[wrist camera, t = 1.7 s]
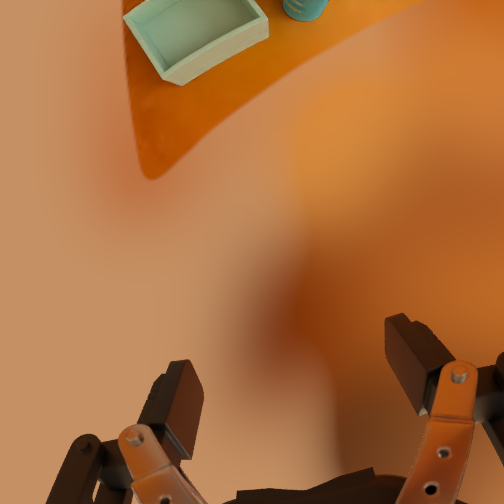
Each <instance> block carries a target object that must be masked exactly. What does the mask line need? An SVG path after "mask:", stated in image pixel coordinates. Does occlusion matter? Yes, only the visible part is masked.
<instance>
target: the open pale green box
mask: <svg viewBox="0 0 504 504" xmlns="http://www.w3.org/2000/svg"><path fill="white" fill-rule="evenodd" d="M122 18H123V19H124V21H125V22H126V24H127V25H128V27H129V29H130V30H131V32H132V33H133V35H134V36H135V38H136V39H137V41H138V42H139V44H140V45H141V47H142V49H143V50H144V52H145V53H146V55H147V56H148V58H149V59H150V61H151V63H152V64H153V66H154V67H155V69H156V70H157V72H158V74H159V75H160V77H161V78H162V79H163V80H166V81H169V82H172V83H174V84H177V85H180V86H183V85H185V84H187V83H188V82H190V81H191V80H193V79H194V78H196V77H197V76H199V75H201V74H202V73H204V72H206V71H207V70H209V69H211V68H212V67H214V66H216V65H217V64H219V63H221V62H223V61H224V60H226V59H228V58H230V57H232V56H233V55H235V54H237V53H239V52H241V51H243V50H245V49H247V48H249V47H251V46H253V45H255V44H257V43H259V42H261V41H263V40H265V39H267V38H269V28H268V18H267V16H266V15H265V14H264V12H263V11H262V10H261V8H260V7H259V6H258V5H257V3H256V2H255V1H254V0H145V1H144V2H142V3H141V4H139V5H138V6H136V7H135V8H134V9H132V10H131V11H130V12H128V13H127V14H126V15H124V16H123V17H122Z"/></svg>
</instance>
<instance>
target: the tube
mask: <svg viewBox="0 0 504 504" xmlns="http://www.w3.org/2000/svg"><path fill="white" fill-rule="evenodd" d="M328 1H329V0H283V8H284V11H285V12H286V13H287V14H288V15H289V16H290V17H291V18H293V19H295V20H298V21H306V22H307V21H312V20H315V19H317V18H318V17H319V16H320V15H321V13H322V12H323V10H324V8H325V6H326V5H327V3H328Z"/></svg>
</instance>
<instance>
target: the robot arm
mask: <svg viewBox="0 0 504 504" xmlns="http://www.w3.org/2000/svg"><path fill="white" fill-rule="evenodd" d="M385 354H386V358H387V361H388V363H389V365H390V366H391V368H392V370H393V371H394V373H395V375H396V377H397V379H398V380H399V382H400V384H401V386H402V387H403V389H404V391H405V393H406V395H407V397H408V398H409V400H410V402H411V404H412V406H413V408H414V410H415V411H416V413H417V415H418V416H421V415H423V414H425V413H428V415H429V419H428V422H427V426H426V429H425V432H424V435H423V438H422V440H421V443H420V446H419V449H418V452H417V454H416V457H415V459H414V462H413V465H412V467H411V469H410V472H409V474H408V477H407V478H406V477H403V476H399V475H392V474H374V470H373V467H371V468H368V469H364V470H361V471H357V472H354V473H350V474H346V475H342V476H339V477H337V478H334V479H332V480H330V481H328V482H325V483H323V484H321V485H318V486H316V487H313V488H311V489H308V490H284V489H273V488H267V489H256V490H242V491H237V496H236V499H234V500H231V501H228V502H225V503H223V504H467V503H465V502H462V501H460V500H457V496H458V492H459V489H460V486H461V483H462V480H463V476H464V473H465V469H466V465H467V461H468V457H469V453H470V448H471V444H472V439H473V433H474V428H475V424H476V423H481V424H482V426H483V428H484V429H485V431H486V433H487V435H488V437H489V438H490V440H491V442H492V444H493V446H494V448H495V450H496V452H497V454H498V456H499V458H500V460H501V462H502V464H503V466H504V352H502V353H501V354H500V355H499V356H498V358H497V361H496V364H495V365H490V366H486V367H481V368H476V367H475V366H474V365H473V364H472V363H470V362H468V361H464V360H456V359H455V358H454V356H453V355H452V354H451V353H450V352H449V351H448V349H447V348H446V347H445V346H444V345H443V344H442V342H441V341H440V340H438V338H437V337H436V336H435V335H434V334H433V332H432V331H431V330H430V329H429V328H428V327H427V325H424V324H422V323H420V322H418V321H414V322H411V321H410V320H409V319H408V318H407V317H406V315H405V314H404V313H400V314H397V315H394V316H390V317H387V318H386V319H385ZM150 391H151V393H149V395H148V400H146V403H145V405H144V407H143V410H142V412H141V414H140V417H139V419H138V422H137V424H135V425H131V426H129V427H127V428H126V429H124V430H123V431H122V432H121V434H120V435H119V438H118V439H115V440H110V441H106V442H101V441H100V440H99V439H98V438H97V436H95V435H93V434H84V435H82V436H80V437H78V438H77V439H76V440H75V441H74V442H73V443H72V445H71V447H70V449H69V451H68V453H67V455H66V458H65V460H64V462H63V464H62V466H61V469H60V471H59V473H58V475H57V478H56V480H55V483H54V485H53V487H52V489H51V492H50V494H49V497H48V499H47V501H46V504H131V502H132V498H133V494H134V495H135V497H136V499H137V501H138V503H139V504H208V503H207V502H206V501H205V499H204V498H203V497H202V496H201V494H200V493H199V492H198V491H197V489H196V488H195V486H194V485H193V484H192V482H191V481H190V480H189V478H188V477H187V476H186V474H185V473H184V471H183V470H182V468H181V467H180V463H181V460H191V459H192V455H193V450H194V445H195V440H196V435H197V430H198V425H199V420H200V416H201V411H202V406H203V401H204V392H203V388H202V385H201V383H200V381H199V379H198V376H197V374H196V372H195V370H194V368H193V365H192V363H191V361H190V360H188V359H187V360H180V361H171V362H170V364H169V366H168V369H167V372H166V374H161V375H160V376H159V377H158V378H157V380H156V381H155V382H154V383H153V386H152V388H151V390H150ZM97 480H98V481H99V482H100V486H99V489H98V491H97V495H96V498H95V501H94V502H93V499H92V496H93V492H94V489H95V486H96V483H97Z"/></svg>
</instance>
